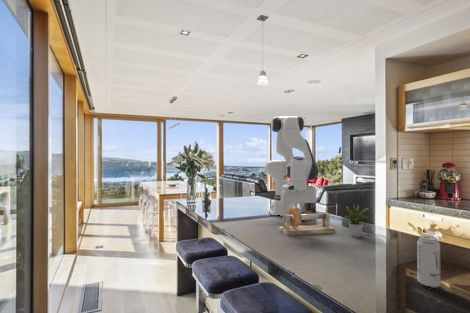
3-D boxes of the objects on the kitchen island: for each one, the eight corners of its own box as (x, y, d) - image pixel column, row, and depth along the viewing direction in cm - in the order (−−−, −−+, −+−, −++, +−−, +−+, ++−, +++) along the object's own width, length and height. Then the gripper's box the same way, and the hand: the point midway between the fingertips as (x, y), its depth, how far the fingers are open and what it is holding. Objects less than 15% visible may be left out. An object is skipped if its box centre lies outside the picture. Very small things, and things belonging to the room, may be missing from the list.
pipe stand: (278, 230, 159) (278, 213, 159) (323, 227, 166) (323, 210, 166) (287, 235, 147) (287, 217, 147) (335, 232, 154) (335, 214, 154)
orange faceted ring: (288, 224, 159) (288, 206, 159) (292, 224, 160) (292, 206, 160) (296, 228, 149) (296, 209, 150) (300, 228, 150) (300, 209, 150)
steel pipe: (283, 220, 155) (283, 214, 155) (325, 217, 161) (325, 212, 161) (285, 221, 152) (285, 215, 152) (329, 219, 158) (329, 213, 158)
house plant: (375, 240, 139) (375, 207, 139) (345, 238, 141) (345, 206, 141) (368, 233, 153) (368, 202, 153) (341, 231, 155) (340, 201, 155)
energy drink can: (436, 291, 86) (435, 241, 86) (414, 284, 90) (413, 237, 91) (443, 286, 89) (443, 238, 89) (422, 279, 94) (421, 234, 94)
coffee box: (314, 222, 178) (314, 196, 178) (316, 224, 172) (316, 198, 172) (299, 222, 179) (299, 196, 179) (301, 224, 173) (300, 198, 173)
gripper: (312, 185, 161) (312, 209, 161) (279, 186, 156) (279, 211, 156) (318, 186, 155) (318, 211, 155) (283, 187, 150) (284, 213, 150)
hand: (298, 211), depth 155 cm, fingers closed
